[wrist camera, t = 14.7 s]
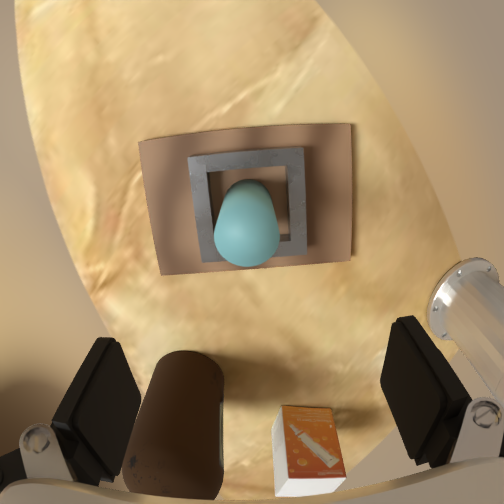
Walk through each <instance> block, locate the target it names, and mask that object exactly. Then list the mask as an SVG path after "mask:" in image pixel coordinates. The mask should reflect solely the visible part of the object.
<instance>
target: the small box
mask: <svg viewBox="0 0 504 504" xmlns="http://www.w3.org/2000/svg"><path fill="white" fill-rule="evenodd" d="M271 432H272V449H273V464H274V480H275V496H290V497H302V496H310V495H318V494H325V493H332V492H334V490H335V489H336V488H337V487H338V486H339V485H340V484H341V483H342V482H343V481H344V480H345V479H346V472H345V468H344V463H343V458H342V454H341V449H340V445H339V440H338V436H337V431H336V427H335V423H334V419H333V415H332V410H331V408H305V407H292V406H284V405H282V406H281V408H280V410H279V412H278V415H277V417H276V419H275V421H274V424H273V426H272V428H271Z"/></svg>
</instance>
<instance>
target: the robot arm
mask: <svg viewBox="0 0 504 504" xmlns="http://www.w3.org/2000/svg"><path fill="white" fill-rule="evenodd" d="M427 322H428V325H429V327H430V329H431V330H432V332H433V333H434V334H435V335H436V336H437V337H438V338H440V339H443V340H453V341H454V342H455V343H456V345H457V346H458V347H459V349H460V350H461V351H462V352H463V354H464V355H465V356H466V358H467V359H468V361H469V362H470V363H471V365H472V366H473V367H474V369H475V370H476V372H477V373H478V374H479V376H480V377H481V379H482V380H483V382H484V383H485V384H486V386H487V387H488V389H489V390H490V392H491V393H492V395H493V396H494V398H495V399H496V400H494V399H492V398H488V397H480V398H476V399H474V400H472V399H471V397H470V395H469V394H468V392H467V391H466V389H465V387H464V386H463V384H462V383H461V381H460V380H459V378H458V377H457V375H456V374H455V372H454V370H453V369H452V368H451V366H450V364H449V363H448V361H447V360H446V359H445V357H444V356H443V354H442V353H441V351H440V350H439V349H437V347H436V346H435V344H434V343H433V341H432V340H431V339H430V337H429V336H428V334H427V333H426V331H425V330H424V329H423V327H422V326H421V324H420V323H419V322H418V320H417V319H416V318H415V317H414V316H413V315H411V316H405V317H399V318H397V320H396V322H394V323H393V324H392V326H391V331H390V336H389V341H388V346H387V351H386V356H385V360H384V365H383V369H382V373H381V378H380V384H381V388H382V390H383V393H384V395H385V397H386V400H387V402H388V405H389V407H390V410H391V412H392V415H393V417H394V420H395V422H396V425H397V427H398V429H399V432H400V435H401V437H402V440H403V443H404V445H405V448H406V450H407V453H408V456H409V457H410V459H415V462H416V465H417V466H418V465H421V464H424V463H427V462H429V465H430V467H431V469H429V470H426V471H423V472H419V473H416V474H412V475H409V476H406V477H402V478H398V479H394V480H390V481H386V482H382V483H378V484H373V485H369V486H364V487H360V488H355V489H349V490H344V491H338V492H332V493H325V494H318V495H310V496H302V497H292V498H281V499H266V500H197V499H181V498H170V497H160V496H152V495H144V494H137V493H131V492H125V491H119V490H113V489H107V488H102V487H99V486H98V485H99V482H100V480H101V481H106V482H111V483H113V482H114V478H115V476H118V475H119V473H120V470H121V467H122V464H123V460H124V457H125V453H126V450H127V446H128V443H129V440H130V436H131V433H132V430H133V427H134V423H135V420H136V417H137V414H138V411H139V407H140V404H141V394H140V391H139V389H138V387H137V384H136V382H135V380H134V377H133V375H132V373H131V370H130V368H129V365H128V363H127V360H126V358H125V355H124V352H123V350H122V347H121V345H120V343H119V342H116V340H115V339H114V338H107V337H105V338H104V337H103V338H102V337H100V338H97V339H96V341H95V343H94V344H93V346H92V348H91V349H90V351H89V353H88V355H87V356H86V358H85V360H84V362H83V363H82V365H81V367H80V369H79V370H78V372H77V374H76V376H75V377H74V379H73V381H72V383H71V385H70V387H69V388H68V390H67V392H66V394H65V396H64V398H63V400H62V401H61V403H60V405H59V407H58V409H57V411H56V413H55V415H54V417H53V419H52V424H51V426H49V425H46V424H35V425H32V426H31V427H29V428H27V429H26V430H25V431H24V432H23V434H22V435H21V437H20V441H19V445H20V448H19V449H16V450H14V451H12V452H10V453H8V454H5V455H3V456H1V457H0V504H504V287H503V286H502V285H501V284H500V283H499V276H498V273H497V270H496V268H495V267H494V266H493V265H492V264H491V263H490V262H489V261H487V260H485V259H483V258H477V257H476V258H469V259H467V260H464V261H462V262H460V263H458V264H457V265H455V266H454V267H453V268H452V269H450V270H449V271H448V272H447V273H446V274H445V275H444V276H443V278H442V279H441V280H440V282H439V283H438V284H437V286H436V288H435V289H434V291H433V293H432V296H431V298H430V300H429V304H428V308H427Z"/></svg>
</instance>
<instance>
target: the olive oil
mask: <svg viewBox="0 0 504 504" xmlns="http://www.w3.org/2000/svg"><path fill="white" fill-rule="evenodd" d="M223 402H224V376H223V373H222V371H221V369H220V368H219V366H218V365H217V364H216V363H215V362H214V361H212V360H211V359H209V358H208V357H206V356H204V355H201V354H198V353H194V352H189V351H178V352H172V353H169V354H167V355H165V356H163V357H162V358H161V359H160V360H159V361H158V363H157V365H156V367H155V370H154V373H153V375H152V378H151V381H150V384H149V387H148V389H147V392H146V395H145V397H144V400H143V403H142V405H141V408H140V411H139V414H138V416H137V419H136V421H135V424H134V427H133V430H132V433H131V436H130V440H129V443H128V446H127V450H126V453H125V457H124V460H123V464H122V473H123V479H124V482H125V484H126V486H127V488H128V489H129V491H130V492H131V493H137V494H144V495H152V496H160V497H170V498H181V499H197V500H214V499H215V498H216V496H217V495H218V493H219V490H220V488H221V486H222V482H223V476H224V459H223Z"/></svg>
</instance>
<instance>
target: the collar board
mask: <svg viewBox="0 0 504 504" xmlns="http://www.w3.org/2000/svg"><path fill="white" fill-rule="evenodd" d="M138 145H139V153H140V160H141V167H142V174H143V181H144V187H145V194H146V200H147V206H148V212H149V217H150V223H151V228H152V234H153V239H154V244H155V249H156V254H157V259H158V264H159V268H160V273H161V276H162V275H177V274H191V273H206V272H219V271H233V270H246V269H259V268H271V267H284V266H296V265H308V264H319V263H331V262H342V261H350V260H351V234H352V147H351V124H303V125H280V126H263V127H250V128H238V129H227V130H218V131H209V132H200V133H192V134H185V135H178V136H171V137H164V138H158V139H152V140H146V141H141V142H138ZM245 179H251V180H255V181H258V182H260V183H262V184H263V185H264V186H265V187H266V188H267V189H268V191H269V193H270V195H271V199H272V203H273V207H274V211H275V215H276V219H277V223H278V227H279V232H280V241H279V245H278V248H277V250H276V251H275V253H274V254H273V255H272V257H271V258H269V259H268V260H267V261H265V262H264V263H262V264H259V265H257V266H251V267H243V266H238V265H235V264H232V263H230V262H229V261H227V260H226V259H225V258H223V257H222V255H221V254H220V253H219V251H218V250H217V248H216V245H215V241H214V231H215V227H216V223H217V220H218V217H219V213H220V210H221V207H222V204H223V200H224V197H225V194H226V192H227V190H228V189H229V187H230V186H231V185H233V184H234V183H236V182H238V181H240V180H245Z"/></svg>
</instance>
